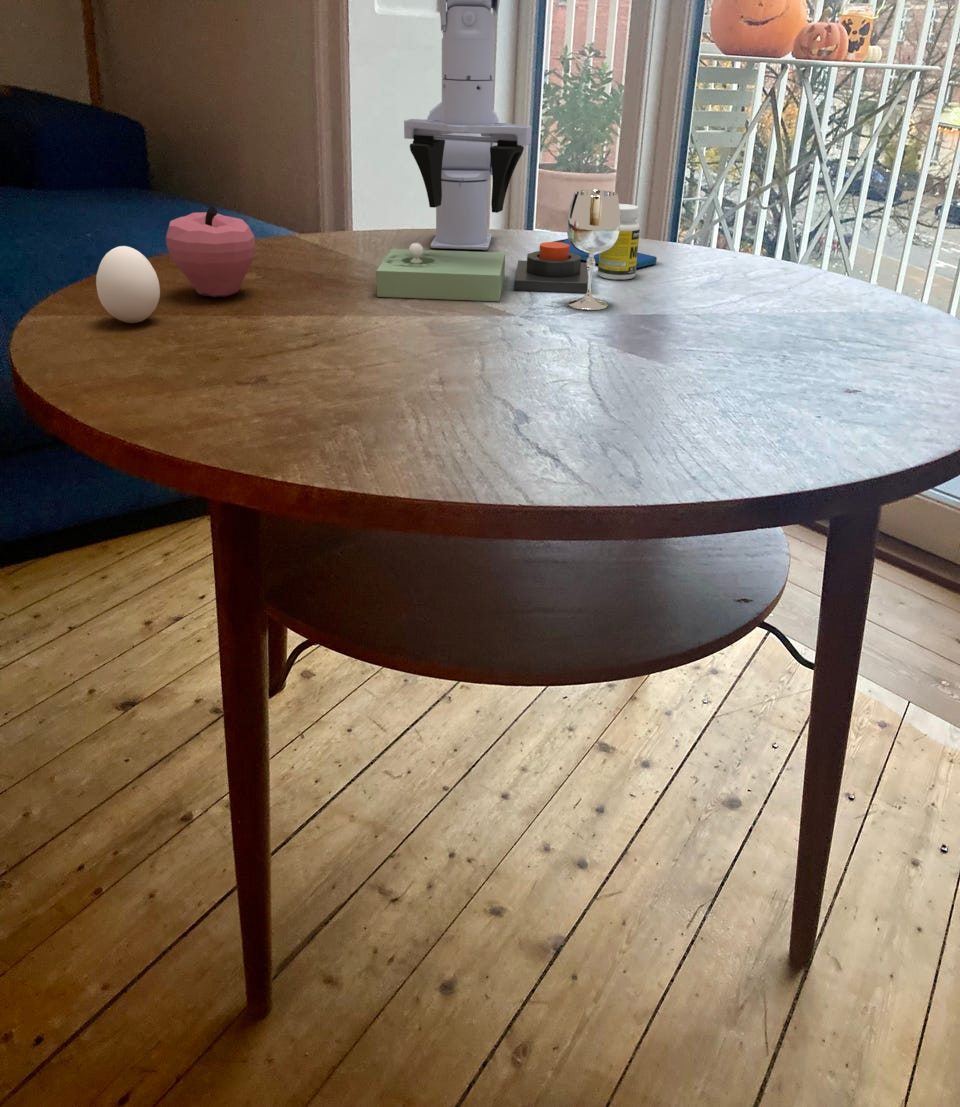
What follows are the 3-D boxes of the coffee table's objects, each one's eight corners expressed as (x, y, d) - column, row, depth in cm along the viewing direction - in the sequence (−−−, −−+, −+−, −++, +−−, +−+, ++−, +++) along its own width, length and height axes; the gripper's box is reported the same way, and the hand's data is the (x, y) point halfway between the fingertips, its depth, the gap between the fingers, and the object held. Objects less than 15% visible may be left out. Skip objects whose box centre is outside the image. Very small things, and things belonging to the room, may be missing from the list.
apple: (273, 292, 114) (266, 201, 109) (228, 309, 107) (218, 212, 102) (205, 282, 117) (195, 193, 113) (157, 298, 110) (144, 204, 106)
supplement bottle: (633, 281, 122) (640, 210, 118) (595, 279, 123) (601, 208, 119) (636, 273, 126) (642, 204, 122) (599, 270, 127) (604, 202, 123)
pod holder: (392, 273, 123) (391, 248, 122) (504, 277, 123) (505, 252, 121) (376, 297, 113) (376, 270, 112) (499, 301, 112) (499, 274, 111)
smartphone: (626, 265, 126) (538, 244, 135) (625, 273, 127) (537, 251, 136) (660, 257, 131) (572, 237, 140) (659, 264, 131) (572, 244, 140)
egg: (128, 333, 98) (116, 255, 95) (89, 323, 101) (76, 247, 98) (176, 320, 103) (167, 245, 99) (138, 311, 106) (127, 237, 102)
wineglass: (579, 313, 108) (587, 198, 103) (552, 301, 113) (558, 190, 107) (623, 308, 111) (633, 195, 105) (594, 296, 115) (603, 187, 109)
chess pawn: (432, 288, 117) (432, 244, 115) (408, 289, 116) (408, 245, 114) (425, 282, 120) (425, 239, 117) (403, 283, 119) (402, 240, 116)
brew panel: (517, 269, 127) (518, 245, 125) (588, 272, 126) (590, 248, 125) (514, 290, 117) (515, 264, 116) (590, 293, 117) (592, 267, 115)
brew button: (539, 255, 122) (540, 241, 121) (568, 257, 122) (569, 242, 121) (538, 262, 119) (539, 247, 118) (568, 263, 119) (569, 248, 118)
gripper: (392, 78, 107) (394, 209, 114) (520, 83, 103) (515, 219, 110) (416, 75, 113) (418, 200, 120) (538, 80, 109) (533, 209, 116)
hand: (466, 208), depth 115 cm, fingers open, 7 cm apart
